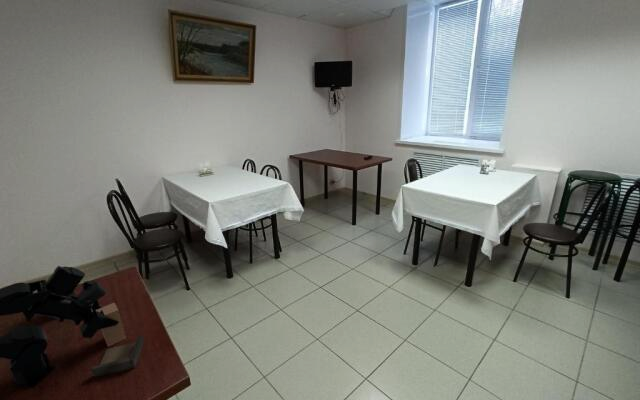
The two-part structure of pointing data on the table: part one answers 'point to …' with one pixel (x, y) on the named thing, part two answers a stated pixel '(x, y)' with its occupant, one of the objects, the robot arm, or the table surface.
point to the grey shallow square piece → (119, 358)
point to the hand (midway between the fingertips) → (115, 319)
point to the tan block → (113, 332)
